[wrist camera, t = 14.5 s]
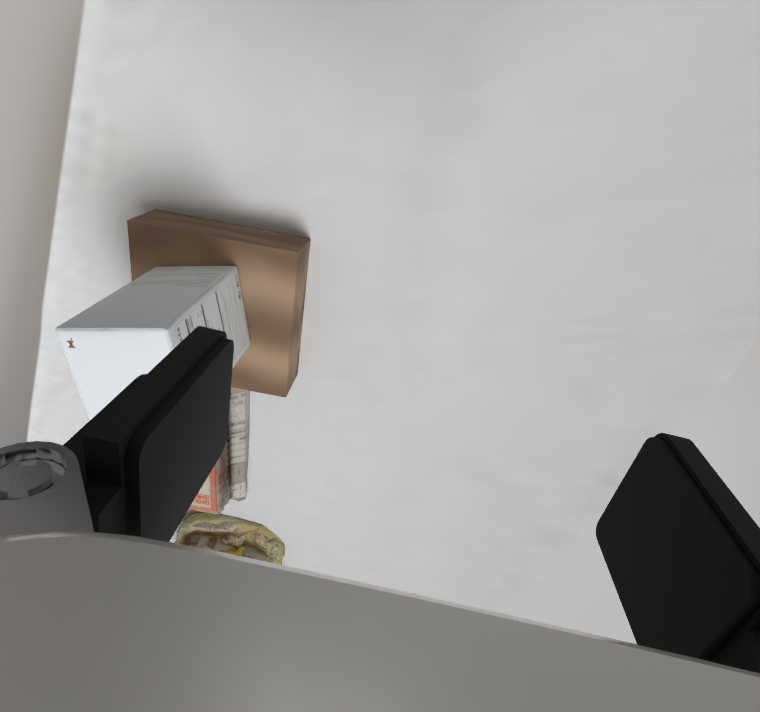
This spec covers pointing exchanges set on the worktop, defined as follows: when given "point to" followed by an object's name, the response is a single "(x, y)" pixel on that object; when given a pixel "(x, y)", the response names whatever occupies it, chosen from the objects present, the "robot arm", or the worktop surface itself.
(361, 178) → the worktop surface
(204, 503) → the packaged product
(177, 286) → the supplement box
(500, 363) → the worktop surface
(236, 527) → the ceramic model
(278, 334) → the walnut block
